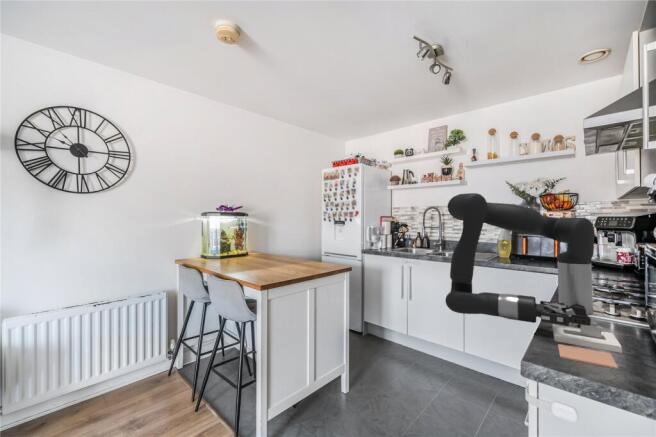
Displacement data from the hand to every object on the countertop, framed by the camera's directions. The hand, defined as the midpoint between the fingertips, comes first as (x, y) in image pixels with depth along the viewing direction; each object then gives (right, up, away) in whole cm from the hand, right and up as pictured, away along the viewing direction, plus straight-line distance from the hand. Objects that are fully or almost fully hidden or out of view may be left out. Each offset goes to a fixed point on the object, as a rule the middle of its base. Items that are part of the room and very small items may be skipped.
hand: (588, 316), depth 78 cm
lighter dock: (-1, -7, +1) cm, 7 cm away
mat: (-8, -7, -9) cm, 14 cm away
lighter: (-1, -7, +1) cm, 7 cm away
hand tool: (+10, -7, +12) cm, 17 cm away
